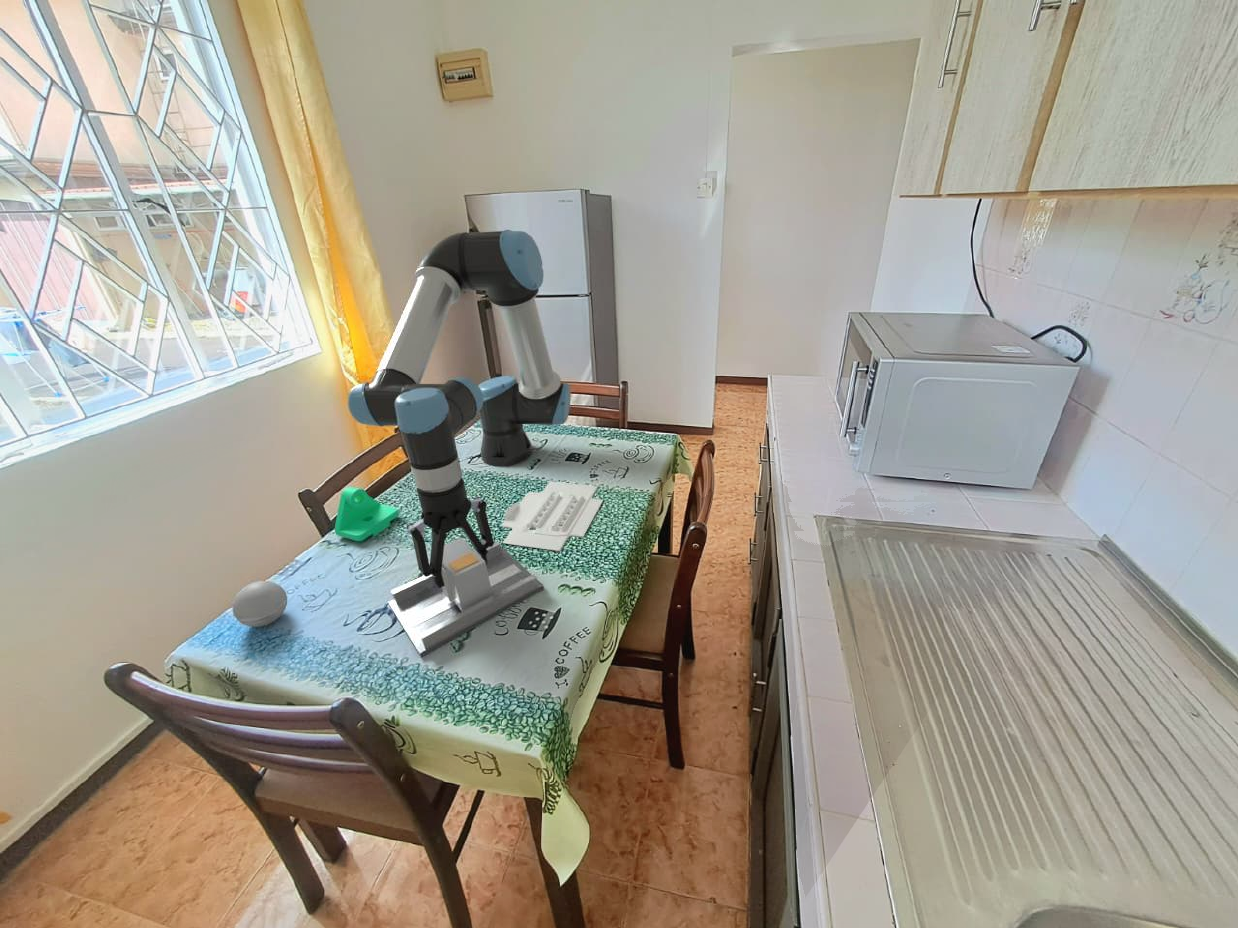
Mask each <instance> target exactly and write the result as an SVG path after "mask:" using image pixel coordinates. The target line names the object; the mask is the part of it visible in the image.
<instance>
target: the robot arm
mask: <svg viewBox="0 0 1238 928" xmlns="http://www.w3.org/2000/svg"><path fill="white" fill-rule="evenodd" d="M543 281H544V269H543V259H542V256H541V252H540V248H539V246H538V245H537V243H536V241H535V239H534V238H533V237H532V235H530V234H529V233H527V232H525V231H523V230H512V229H511V230H510V229H504V230H501V231H499V230H498V231H497V230H496V231H494V230H493V231H477V232H475V231H473V232H472V231H471V232H465V231H464V232H458V233H454V234H451V235H448V236H447V237H445V238H444V239H442V240H441V241H439V242H437V243H436V244H435V245H434V246H433V247H432V248H431V249H430V250H429V251H428V252H427V253H426V254H425V256H424V257H423V258H422V260H421V261H420V263H419V264H418V266H417V268H416V271H415V273H414V275H413V284H414V288H413V291H412V292H411V295H410V297H409V299H408V301H407V304H406V306H405V308H404V310H403V312H402V313H401V317H400V318H399V321H398V324H397V326H396V328H395V330H394V332H393V334H392V337H391V339H390V341H389V343H388V346H387V348H386V350H385V353H384V355H383V356H382V359H381V361H380V363H379V366H378V368H377V370H376V372H375V374H374V376H373V379H372V380H371V382H364V383H363V382H361V383H358V384H355V386H352V388H351V389H350V391H349V395H348V397H347V405H348V406H347V407H348V410H349V413H350V415H351V417H352V418H353V419H354V420H355V421H356V422H357V423H358V424H361V425H366V426H374V427H381V428H382V427H393V426H394V427H398V428H399V431H400V433H401V437H402V440H403V441H402V442H403V443H404V447H405V450H406V454H407V457H408V462H409V465H410V469H411V473H412V477H413V482H414V485H415V487H416V493H417V496H418V500H419V504H420V507H421V511H422V513H421V517H420V519H419V520H418V521H417V522H415V523H408V524H407V525H406V530H407V531H408V532H409V534H410V535H411V537H412V543H413V547H414V552H415V556H416V562H417V567H418V570H419V571H420V572H421V574H422V576H425V577H428V576H429V575H433V578H434V582H435V584H436V585H437V586H438V587H439V588H441V587H442V589H443V593H444V595H445V596H446V597H447V599H448V600H449V601H452V600H453V596H452V592H451V588H450V584H449V581H448V577H447V573H446V571H445V570H444V569H443V568H442V562H443V552H444V545H445V542H446V540H447V534H448V533H450V532H452V531H453V530H456V529H461V531H462V532H463V533H464V535H465V536H466V537H467V539H468V540H469V541H470V543H471V544H472V546H473V549H474V550H475V551H476V553H477V554H478V555H479V556H480V557H481V558H482V559H483V560H484V561H485V562H486V565H487V557H486V555H487V553H488V551H487V550H486V549H487V548H488V547H492V546H493V545H494V543H495V542H494V538H493V534H492V531H491V527H490V524H489V521H488V516H487V514H486V512H487V502H486V501H485V500H484V499H482V498H481V497H480V496H476V497H475V498H474V499H469V498H468V496H467V495H468V494H467V490H466V486H465V482H464V481H465V480H464V478H463V471H462V467H461V464H460V459H459V455H458V449H457V444H456V440H455V436H456V435H457V434H459V432H460V431H461V430H462V429H463V428H464V427H466V425H467V424H469V423H470V422H471V421H472V420H474V419H475V418H476V416H477V415H478V413H479V418H480V424H481V428H482V440H481V446H480V456H481V460H482V461H483V463H485V464H487V465H491V466H499V467H501V466H511V465H514V464H515V465H516V464H518V463H521V462H523V461H525V460H527V459H529V458H530V457H531V456H532V455H533V445H532V442H531V441H530V439H529V437H528V435H527V433H526V431H525V429H524V425H536V426H537V425H544V426H554V425H555V426H557V425H563V424H565V423H566V422H567V420H568V417H569V414H570V408H571V400H572V399H571V396H572V394H571V386H570V384H569V383H566V382H563V383H562V380H561V379H562V378H561V377H560V375H559V374H558V373H557V372H556V371H554V370H553V367H552V362H551V359H550V355H549V350H548V347H547V343H546V339H545V336H544V334H545V333H544V331H543V326H542V322H541V319H540V315H539V314H540V313H539V311H538V306H537V303H536V299H535V298H536V297H537V295H539V290H540V287H541V286H542V285H543ZM468 291H485V292H486V294H487V298H488V301H489V302H490V303H491V304H492V305H494V306H496V307H497V308H498V309H499V313H500V315H501V320H502V323H503V325H504V328H505V332H506V336H507V337H508V341H509V345H510V347H511V350H512V354H513V358H514V360H515V362H516V367H517V370H518V373H519V376H520V378H521V379H520V380H519V382H518V380H517V377H515V376H512V375H503V376H496V377H493V378H489V379H487V380H485V381H483V382H480V383H479V384H477V383H476V382H475V381H473V380H472V379H470V378H467V377H463V376H460V377H459V376H458V377H455V378H452V379H449V380H447V381H446V382H445V383H422V379H423V377H424V374H425V372H426V369H427V367H428V364H429V362H430V359H431V357H432V354H433V352H434V349H435V346H436V344H437V341H438V339H439V336H440V334H441V331H442V329H443V326H444V324H445V321H446V319H447V316H448V313H449V311H450V310H451V309H450V308H451V306H452V305H453V304H455V303H457V302H458V301H459V299H460V297H461V294H463V293H464V292H468ZM470 510H472V511H473V513H474V516H475V520H476V523H477V527H478V530H479V533H480V537H481V540H480V538H479V537H478V535H477V534H476V533H475V532H474V529H473V528H472V527H471V526H472V525H471V524H469V522H468V520H467V517H468V515H469V513H470ZM426 526H427V527H428V528H430V529H431V535H432V536H431V537H432V538H431V545H430V546H431V547H430V548H431V549H430V555H429V556H428V552H427V551H428V550H427V546H426V541H425V538H424V535H425V533H426V531H425V528H426ZM429 557H430V558H429Z"/></svg>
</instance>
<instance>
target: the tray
mask: <svg viewBox="0 0 1238 928" xmlns="http://www.w3.org/2000/svg"><path fill="white" fill-rule="evenodd" d="M598 488H599V486H597V485H590V484H582V483H581V484H580V483H569V482H562V481H549V482H548V483H547V485H546V486H545V487H544V489H543V490H542V491H541V492H533V491H528V492H527V493H526V495H525V496H524V497H523V498H522V500H520V502H519V503H518V502H516V503H512V504H511V506H510V507H508V508H507V510H506V511H505V513H504V514H505V516H504V520H503V522H502V523H501V525H500V527H501V528H506V529H507V528H508V529H512V530H511V531H510V532H509V534H508V535H507V536H506V538H505V539H504V540H503V541H502V544H507V545H514V546H521V547H527V548H533V549H534V548H536V549H543V550H548V551H549V550H551V551H557V552H561V550H562V549H563V548H564V546H565V544H566V542H567V540H568V539H569V538H571V537H576V538H577V537H578V538H584V536H585V535H586V532H587V531H588V529H589V527H590V525H591V523H592V521H593V520H594V518H595V516H596V514H597V512H598V511H599V509H600V507H601V505H602V504H603V501H604V499H602V498H601V499H600V498H593V497H594V495H595V493H596V492H597V490H598ZM561 525H562V526H561ZM531 528H534V530H532V529H531Z"/></svg>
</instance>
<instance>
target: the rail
mask: <svg viewBox="0 0 1238 928" xmlns="http://www.w3.org/2000/svg"><path fill="white" fill-rule="evenodd" d="M501 544H502V543H501V542H499V541H495V542H494V545H493V546H492V547H488V548H487V549H486V550H487V551H488V553H487V555H486V557H487V565H486V567H487V571H488V576H489V581H490V585H491V590H492V595H493V596H491V597H489V598H487V599H485V600H483V601H481V602H480V603H478V604H476V605H474V606H472V607H470V608H468V609H466V610H464V611H463V612H462V611H461V610H460V608H459V607H458V606H457V605H456V603H455V602H454V601H453V600H452V601H449V600H448V599H447V597H446V596H445V595H444V593H443V589H442V587H441V588H439V587H438V586H437V585H436V584H435V582H434V578H433V575H429V576H428V577H425V576H424V575H421V576H420V577H418V578H416V579H414V580H411V581H410V582H408V583H404V584H403V585H401V586H399V587H396V588H394V589H392V590H390V591H391V595H392V597H393V599H392V600H390V601H388V605H389V607H390V608H391V611H392V612H393V614H394V616H395V617H396V619H397V620H398V622H399V624H400V626H401V627H402V629H403V630H404V632H405V633H406V636H407V637H408V638H409V641H410V642H411V644H412V645H413V647H414V649H415V650H416V652H417V653H418V655H419V657H420V658H423V657H425V656H427V655H428V654H430V653H432V652H434V651H436V650H437V649H438V650H439V648H441V647H443V646H445V645H446V644H448V643H450V642H451V641H453V640H455V639H457V638H459V637H461V636H463V635H464V634H466V633H468V632H470V631H471V630H474V629H475V628H477V627H479V626H481V625H482V624H484V623H486V622H488V621H490V620H492V619H493V618H495V617H497V616H499V615H500V614H502V613H504V612H506V611H507V610H509V609H511V608H513V607H515V606H517V605H519V604H520V603H522V602H524V601H525V600H527V599H529V598H530V597H533V596H534V595H536V594H538V593H540V592H541V591H543V590H544V589H545V588H544V584H543V583H542V582H540V581H539V579H537V578H538V577H537V576H536V575H535V574H533V573H531V572H530V571H528V569H526V568H525V567H524V566H523V565H522V564H521V563H520V562H519V561H518V560H517V559H516V558H514V557H513V556H512V555H511V554H510V553H509V552H508V551H507V550H506V549H505V548H504V547H502V546H501Z"/></svg>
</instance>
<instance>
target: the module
mask: <svg viewBox="0 0 1238 928" xmlns="http://www.w3.org/2000/svg"><path fill="white" fill-rule="evenodd" d="M474 549H475V548H474V547H472V546H471V545H470V544H469V543H468V542H467V541H466V540H465V539H464V538H463V536H461V537H459V538H457V539H454V540H452V541H450V542H448V543H446V544H445V543H444V552H443V562H442V568H443V569H444V570H445V571H446V573H447V577H448V581H449V584H450V588H451V592H452V596H453V601H454V602H455V603H456V605H457V606H458V607H459V608H460V610H461V611H462V612H463V611H464V610H466V609H468V608H470V607H472V606H474V605H476V604H478V603H480V602H481V601H483V600H485V599H487V598H489V597H491V596H493V595H492V590H491V585H490V581H489V576H488V571H487V567H486V562H485V561H484V560H483V559H482V558H481V557H480V556H479V555H478V554H477V553H476V551H475V550H476V549H475V550H474Z"/></svg>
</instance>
